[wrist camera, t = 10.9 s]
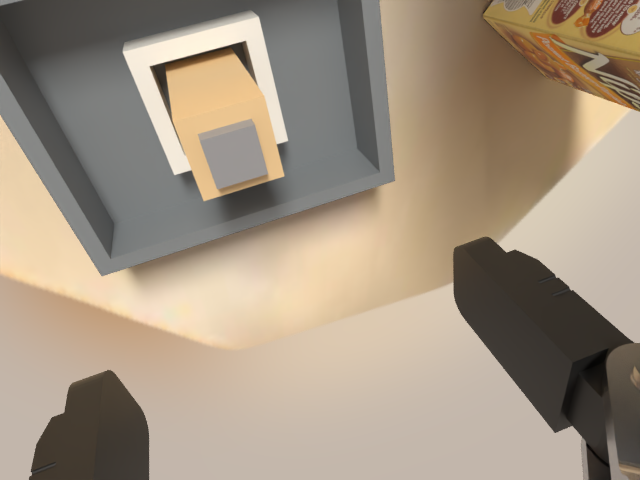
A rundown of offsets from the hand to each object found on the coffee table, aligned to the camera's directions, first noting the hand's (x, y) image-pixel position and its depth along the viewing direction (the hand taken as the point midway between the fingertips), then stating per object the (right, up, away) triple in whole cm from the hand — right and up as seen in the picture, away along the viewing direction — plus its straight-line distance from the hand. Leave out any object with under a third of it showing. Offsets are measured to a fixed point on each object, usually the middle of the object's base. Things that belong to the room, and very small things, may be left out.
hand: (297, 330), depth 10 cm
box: (-7, +12, +19) cm, 23 cm away
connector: (-6, +11, +18) cm, 22 cm away
